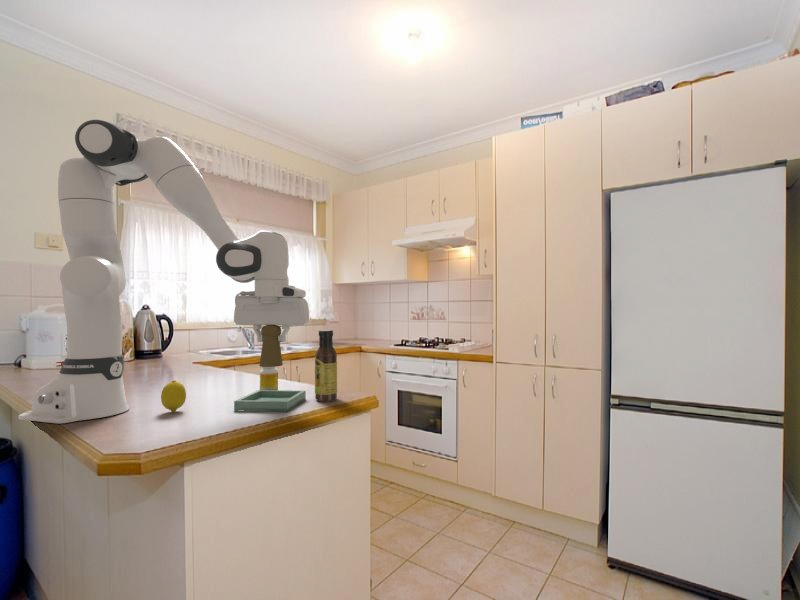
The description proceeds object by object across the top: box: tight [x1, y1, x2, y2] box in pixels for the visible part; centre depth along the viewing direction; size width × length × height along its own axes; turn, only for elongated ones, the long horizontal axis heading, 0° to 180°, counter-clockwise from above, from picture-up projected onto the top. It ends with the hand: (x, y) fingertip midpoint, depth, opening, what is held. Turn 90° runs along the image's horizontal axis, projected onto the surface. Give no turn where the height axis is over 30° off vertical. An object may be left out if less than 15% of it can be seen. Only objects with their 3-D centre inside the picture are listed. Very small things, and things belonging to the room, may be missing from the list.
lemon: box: [160, 379, 187, 413], centre depth 102 cm, size 6×6×8 cm
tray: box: [233, 389, 307, 413], centre depth 108 cm, size 14×14×2 cm
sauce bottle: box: [314, 329, 338, 403], centre depth 114 cm, size 6×6×20 cm
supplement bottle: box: [259, 367, 279, 390], centre depth 123 cm, size 5×5×10 cm
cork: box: [259, 325, 284, 368], centre depth 109 cm, size 6×6×11 cm
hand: (271, 341), depth 109 cm, fingers closed on cork, 4 cm apart
